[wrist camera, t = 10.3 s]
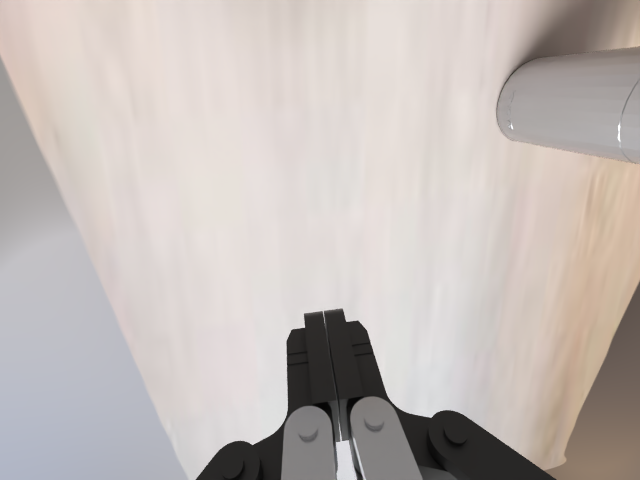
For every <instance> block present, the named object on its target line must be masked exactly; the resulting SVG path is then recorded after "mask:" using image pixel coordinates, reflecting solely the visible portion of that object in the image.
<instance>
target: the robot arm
mask: <svg viewBox="0 0 640 480" xmlns="http://www.w3.org/2000/svg"><path fill="white" fill-rule="evenodd" d="M497 120H498V124H499V127H500V129H501V131H502V133H503V134H504V135H505V136H506V137H507V138H509V139H511V140H513V141H518V142H523V143H528V144H533V145H538V146H543V147H548V148H554V149H559V150H565V151H570V152H575V153H581V154H586V155H591V156H597V157H602V158H608V159H613V160H618V161H624V162H629V163H635V164H640V46H638V47H630V48H621V49H613V50H604V51H596V52H587V53H579V54H569V55H561V56H552V57H544V58H538V59H533V60H531V61H529V62H527V63H525V64H524V65H522V66H521V67H520V68H518V69H517V70H516V71H515V72H514V73H513V74H512V75H511V77H510V78H509V79H508V81H507V82H506V84H505V86H504V88H503V90H502V92H501V95H500V98H499V101H498V107H497ZM324 318H325V323H324ZM304 319H305V328H300V329H293V330H291V333H290V335H289V337H288V339H287V382H288V412H287V416H286V419H285V421H284V423H283V424H282V426H281V427H280V428H279V429H278V430H277V431H276V432H275V433H274V434H272V435H271V436H269V437H267V438H265V439H263V440H262V441H260V442H258V443H256V444H254V445H251V444H250V443H248V442H245V441H235V442H232V443H229V444H227V445H226V446H224V447H223V448H222V449H220V450H219V451H218V452H217V453H216V455H215V456H214V457H213V458H212V460H211V461H210V462H209V463H208V465H207V466H206V467H205V469H204V470H203V471H202V472H201V474H200V475H199V476H198V477H197V479H196V480H337V474H336V473H337V468H338V462H337V451H336V442H340V432H339V424H340V430H341V436H342V441H345V440H349V444H350V449H351V455H352V467H353V471H354V476H355V480H556V479H555V478H553V477H552V476H550V475H549V474H547V473H546V472H545V471H543V470H542V469H540V468H539V467H538V466H536V465H535V464H533V463H532V462H530V461H529V460H527V459H526V458H525V457H523V456H522V455H520V454H519V453H517V452H516V451H515V450H513V449H512V448H510V447H509V446H507V445H506V444H505V443H503V442H502V441H500V440H499V439H497V438H496V437H494V436H493V435H492V434H490V433H489V432H487V431H486V430H484V429H483V428H482V427H480V426H479V425H477V424H476V423H474V422H473V421H472V420H470V419H469V418H467V417H466V416H464V415H462V414H460V413H458V412H455V411H450V410H444V411H440V412H438V413H436V414H435V415H434V416H433V417H432V418H429V417H423V416H418V415H413V414H409V413H406V412H404V411H402V410H400V409H399V408H397V407H396V406H395V405H394V404H393V403H392V402H391V401H390V399H389V398H388V396H387V394H386V391H385V388H384V385H383V381H382V378H381V375H380V372H379V368H378V365H377V362H376V359H375V355H374V352H373V349H372V346H371V343H370V339H369V336H368V333H367V330H366V329H365V328H364V327H363V325H362V324H361V323H360V322H359V321H351V322H346V320H345V316H344V312H343V309H335V310H328V311H324V317H323V311H321V312H313V313H306V314H304ZM338 417H339V419H338Z"/></svg>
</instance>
